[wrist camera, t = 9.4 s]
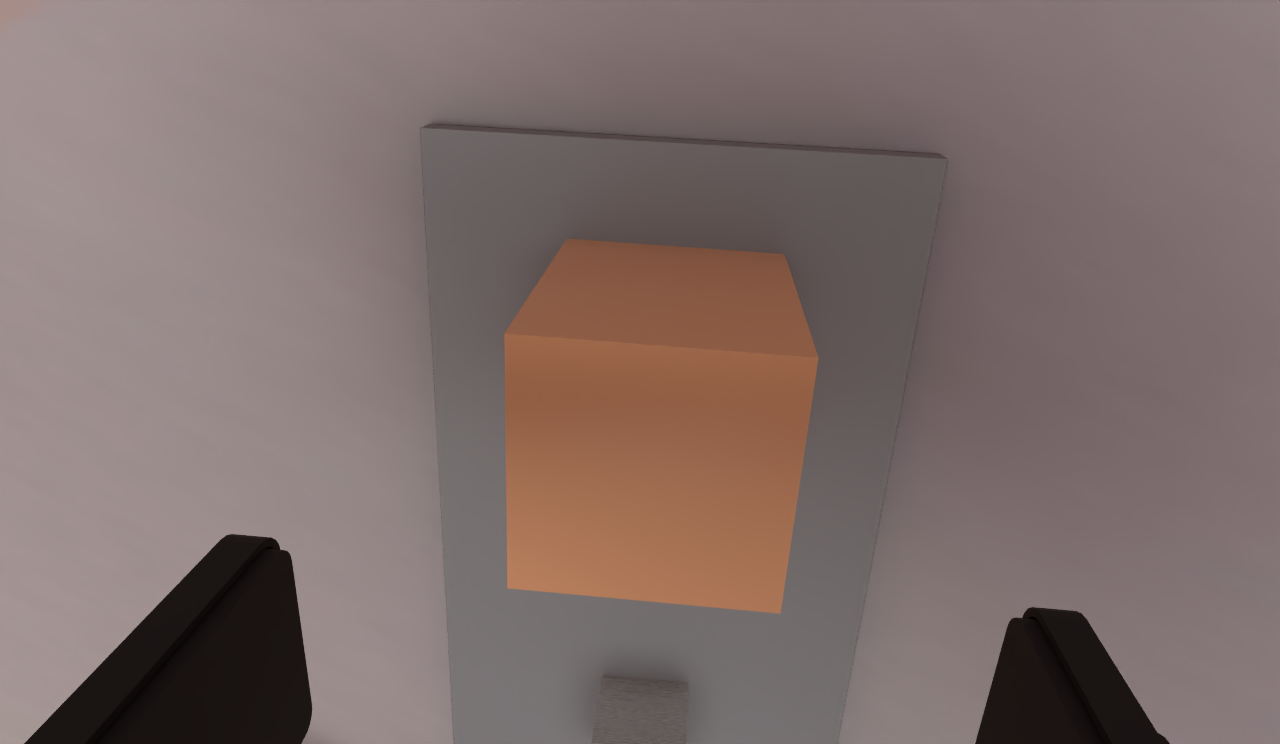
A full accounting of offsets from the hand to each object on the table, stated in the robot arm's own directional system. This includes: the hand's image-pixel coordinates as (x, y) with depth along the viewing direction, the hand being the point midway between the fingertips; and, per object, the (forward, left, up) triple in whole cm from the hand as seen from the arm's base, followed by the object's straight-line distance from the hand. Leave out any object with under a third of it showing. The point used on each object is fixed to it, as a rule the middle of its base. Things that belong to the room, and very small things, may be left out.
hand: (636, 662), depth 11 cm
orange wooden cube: (0, 0, -11) cm, 11 cm away
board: (0, +6, -12) cm, 13 cm away
